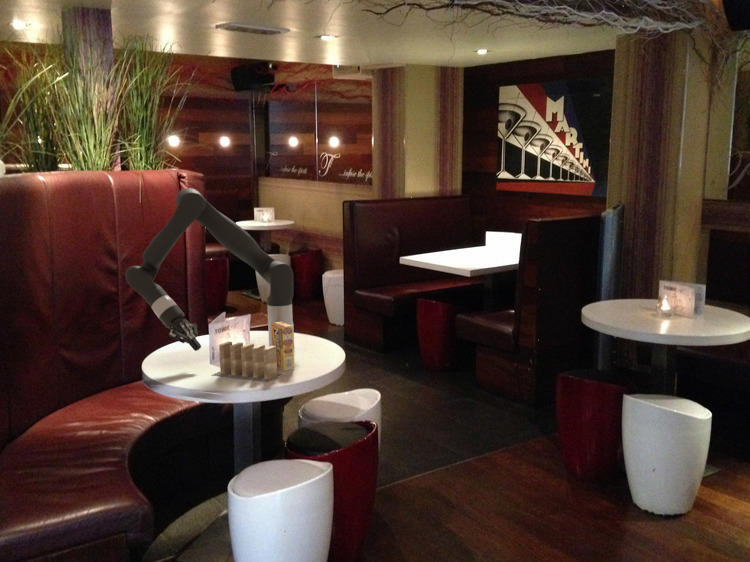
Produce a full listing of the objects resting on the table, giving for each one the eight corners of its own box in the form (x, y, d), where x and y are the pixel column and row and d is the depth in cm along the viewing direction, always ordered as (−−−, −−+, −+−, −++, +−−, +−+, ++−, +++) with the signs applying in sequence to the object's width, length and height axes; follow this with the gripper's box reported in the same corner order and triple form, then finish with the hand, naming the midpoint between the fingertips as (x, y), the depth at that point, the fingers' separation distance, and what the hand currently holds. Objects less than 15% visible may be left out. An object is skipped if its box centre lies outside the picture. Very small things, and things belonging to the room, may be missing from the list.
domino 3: (242, 376, 235) (241, 346, 234) (251, 372, 240) (249, 343, 238) (246, 377, 235) (245, 347, 233) (255, 373, 239) (253, 343, 238)
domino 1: (220, 374, 239) (219, 344, 237) (229, 370, 243) (228, 341, 242) (224, 374, 238) (223, 345, 237) (233, 370, 243) (232, 341, 241)
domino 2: (231, 375, 237) (230, 345, 236) (240, 371, 242) (238, 342, 240) (235, 375, 236) (234, 346, 235) (244, 371, 241) (242, 342, 239)
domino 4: (253, 377, 234) (252, 348, 232) (261, 373, 238) (260, 344, 237) (257, 378, 233) (256, 348, 231) (266, 374, 237) (264, 344, 236)
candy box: (295, 369, 244) (293, 325, 242) (283, 371, 242) (282, 327, 240) (283, 364, 252) (281, 321, 249) (272, 365, 249) (270, 322, 247)
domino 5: (264, 379, 232) (263, 349, 230) (273, 375, 236) (271, 345, 235) (268, 379, 231) (267, 349, 230) (277, 375, 236) (276, 346, 234)
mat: (228, 368, 247) (228, 367, 247) (283, 375, 238) (283, 374, 238) (210, 376, 238) (210, 375, 238) (267, 383, 229) (267, 382, 229)
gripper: (160, 307, 240) (192, 346, 237) (186, 301, 252) (216, 337, 249) (149, 322, 243) (180, 360, 240) (174, 314, 255) (204, 351, 252)
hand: (198, 348), depth 244 cm, fingers closed
